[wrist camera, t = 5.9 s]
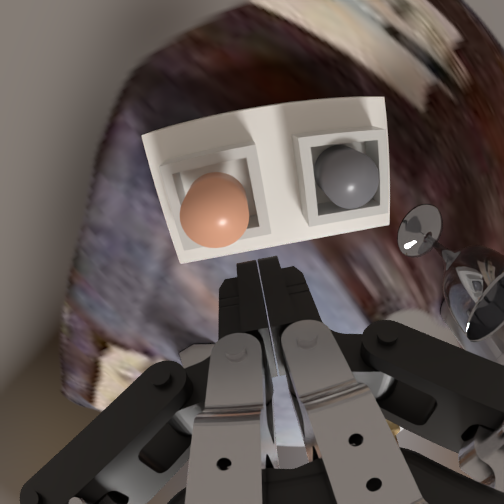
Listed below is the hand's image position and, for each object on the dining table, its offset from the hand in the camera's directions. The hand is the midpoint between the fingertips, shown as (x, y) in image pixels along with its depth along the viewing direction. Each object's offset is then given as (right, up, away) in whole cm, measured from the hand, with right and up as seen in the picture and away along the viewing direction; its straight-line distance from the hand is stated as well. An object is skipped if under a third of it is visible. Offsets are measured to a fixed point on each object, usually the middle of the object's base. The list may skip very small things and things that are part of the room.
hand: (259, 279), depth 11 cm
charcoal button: (+7, +8, +11) cm, 15 cm away
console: (+2, +9, +15) cm, 18 cm away
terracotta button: (-3, +5, +10) cm, 11 cm away
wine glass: (+20, +4, +20) cm, 29 cm away
